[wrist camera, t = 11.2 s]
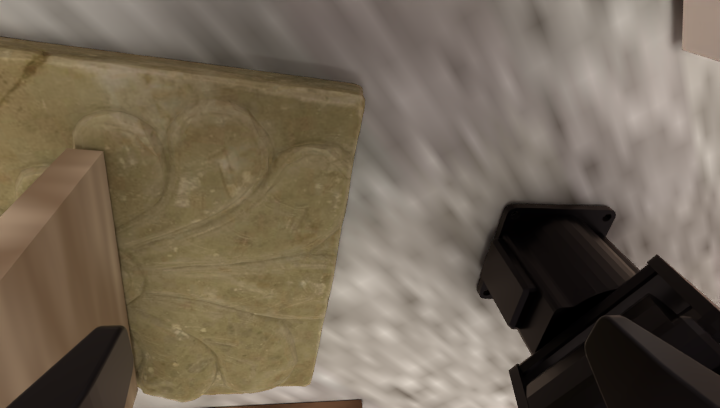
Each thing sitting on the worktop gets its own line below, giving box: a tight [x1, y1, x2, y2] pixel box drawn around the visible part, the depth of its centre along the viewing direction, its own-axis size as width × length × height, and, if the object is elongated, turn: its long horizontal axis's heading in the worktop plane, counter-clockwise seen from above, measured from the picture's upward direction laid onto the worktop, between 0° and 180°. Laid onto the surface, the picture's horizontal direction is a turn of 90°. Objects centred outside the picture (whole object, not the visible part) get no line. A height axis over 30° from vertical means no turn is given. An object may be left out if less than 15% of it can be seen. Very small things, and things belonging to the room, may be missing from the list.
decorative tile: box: [0, 37, 365, 402], centre depth 21 cm, size 19×20×4 cm
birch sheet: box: [0, 148, 138, 408], centre depth 15 cm, size 1×14×10 cm, turn 171°
